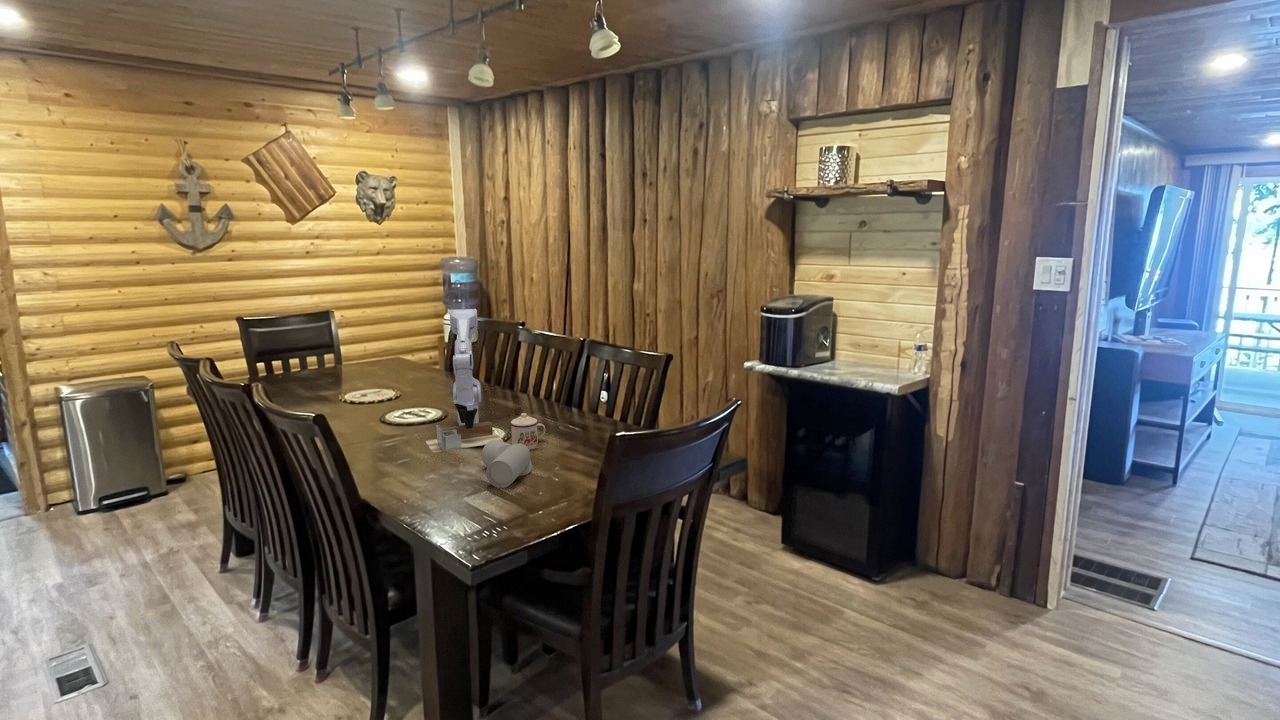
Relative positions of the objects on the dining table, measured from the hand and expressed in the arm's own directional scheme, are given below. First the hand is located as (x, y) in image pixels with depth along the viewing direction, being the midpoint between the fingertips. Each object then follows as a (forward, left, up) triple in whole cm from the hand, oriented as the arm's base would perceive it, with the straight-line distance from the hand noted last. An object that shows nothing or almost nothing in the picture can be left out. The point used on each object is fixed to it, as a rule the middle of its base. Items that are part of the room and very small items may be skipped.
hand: (466, 425), depth 243 cm
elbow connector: (+39, +2, -6) cm, 40 cm away
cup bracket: (+7, -8, -4) cm, 11 cm away
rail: (0, 0, -4) cm, 4 cm away
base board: (+4, -2, -5) cm, 7 cm away
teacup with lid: (+16, +17, -6) cm, 24 cm away
